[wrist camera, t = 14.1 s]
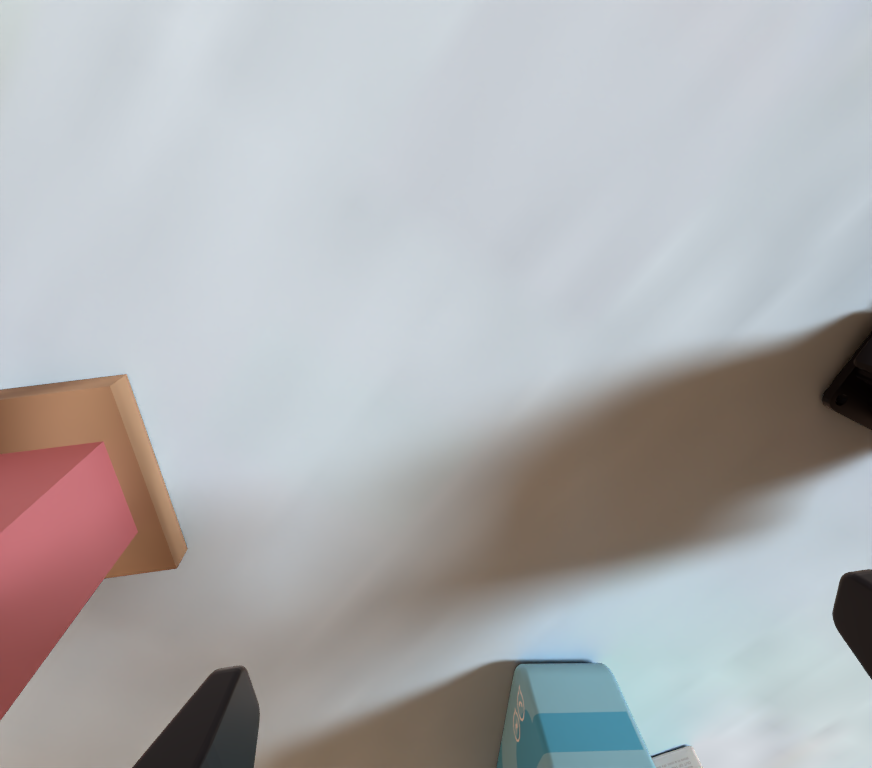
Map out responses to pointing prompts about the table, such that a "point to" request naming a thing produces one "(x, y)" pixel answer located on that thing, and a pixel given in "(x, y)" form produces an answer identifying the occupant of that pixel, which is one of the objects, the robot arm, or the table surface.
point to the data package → (569, 720)
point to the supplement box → (678, 759)
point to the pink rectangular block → (53, 549)
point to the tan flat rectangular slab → (127, 448)
